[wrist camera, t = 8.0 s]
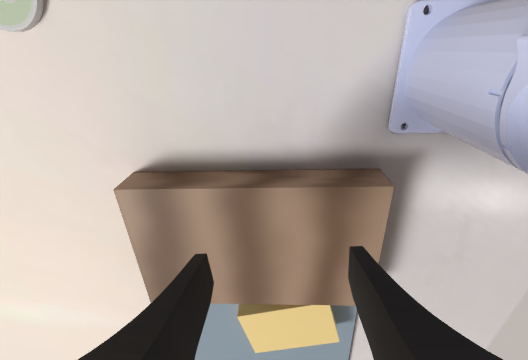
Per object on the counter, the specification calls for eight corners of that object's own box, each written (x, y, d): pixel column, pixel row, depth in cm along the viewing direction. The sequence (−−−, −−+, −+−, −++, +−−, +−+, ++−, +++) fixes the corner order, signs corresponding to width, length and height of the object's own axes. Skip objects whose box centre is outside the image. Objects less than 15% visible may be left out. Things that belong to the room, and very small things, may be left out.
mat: (359, 283, 27) (361, 286, 26) (345, 369, 33) (345, 373, 33) (164, 281, 28) (162, 284, 27) (188, 365, 34) (187, 368, 34)
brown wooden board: (379, 168, 21) (394, 186, 18) (360, 279, 26) (370, 305, 24) (133, 172, 22) (113, 189, 19) (163, 277, 27) (150, 302, 25)
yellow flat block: (325, 285, 26) (328, 302, 25) (335, 323, 29) (339, 341, 27) (239, 299, 28) (237, 316, 26) (256, 335, 30) (255, 353, 29)
